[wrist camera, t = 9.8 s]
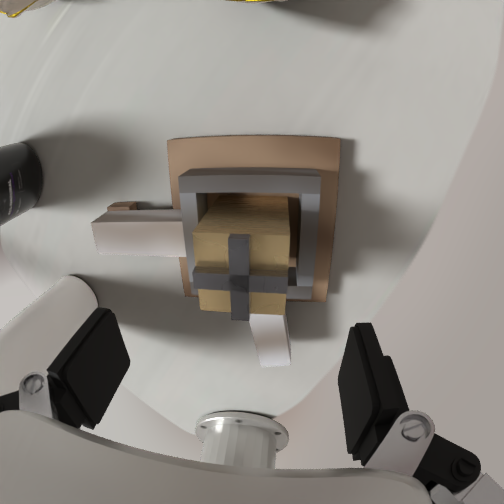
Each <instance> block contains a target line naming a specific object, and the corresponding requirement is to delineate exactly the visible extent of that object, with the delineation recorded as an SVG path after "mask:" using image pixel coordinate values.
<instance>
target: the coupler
mask: <svg viewBox="0 0 504 504" xmlns="http://www.w3.org/2000/svg"><path fill="white" fill-rule="evenodd" d="M192 235H193V246H194V257H195V268H194V270H193V272H192V276H193V284H194V289H198V294H199V302H200V310H206V311H219V312H231V319H232V320H242V321H250V314H268V315H285V305H286V294H287V287H288V263H289V247H290V226H289V212H288V198H287V197H285V196H254V195H219V196H218V198H217V199H216V200H215V202H214V203H213V204H212V206H211V207H210V208H209V210H208V211H207V213H206V214H205V215H204V217H203V218H202V219H201V221H200V222H199V224H198V225H197V226H196V228H195V229H194V231H193V232H192Z"/></svg>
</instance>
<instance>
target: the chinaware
mask: <svg viewBox="0 0 504 504" xmlns="http://www.w3.org/2000/svg"><path fill="white" fill-rule="evenodd" d="M53 1H55V0H0V12H1V13H4V14H7V16H8V17H12V18H16V17H18V16H20V15H21V14H22V13H23V12H24V11H29V10H35V9H38V8H41V7H44V6H46V5H48V4H50V3H52V2H53ZM228 1H237V2H243V3H265V2H271V1H286V0H228Z"/></svg>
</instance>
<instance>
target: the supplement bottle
mask: <svg viewBox="0 0 504 504" xmlns="http://www.w3.org/2000/svg"><path fill="white" fill-rule="evenodd" d="M41 189H42V171H41V166H40V162H39V160H38V157H37V155H36V154H35V152H34V151H33V149H32V148H31V147H29V146H28V145H26V144H24V143H14V144H10V145H6V146H2V147H0V226H1V225H3V224H5V223H6V222H8V221H10V220H12V219H13V218H15V217H17V216H19V215H21V214H23V213H24V212H26V211H28V210H29V209H31V208H32V207H33V206H34V205H35V204H36V202H37V201H38V199H39V196H40V193H41Z"/></svg>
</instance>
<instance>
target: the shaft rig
mask: <svg viewBox="0 0 504 504" xmlns="http://www.w3.org/2000/svg"><path fill="white" fill-rule="evenodd" d="M167 148H168V161H169V174H170V185H171V195H172V205H173V209H167V210H137V205H136V202H118V203H113V204H112V205H110V206H109V207H107V210H108V211H107V212H106V213H104V214H103V215H101V216H100V217H99V218H97V219H96V220H94V221H93V222H91V226H92V230H93V235H94V239H95V244H96V248H97V252H98V254H116V255H143V256H171V257H179V261H180V267H181V274H182V281H183V287H184V293H185V296H188V297H199V294H198V289H194V284H193V276H192V272H193V270H194V268H195V257H194V246H193V235H192V232H193V231H194V229H195V228H196V226H197V225H198V224H199V222H200V221H201V219H202V218H203V217H204V215H205V214H206V213H207V211H208V210H209V208H210V207H211V206H212V204H213V203H214V202H215V200H216V199H217V198H218V196H219V195H254V196H285V197H287V198H288V212H289V226H290V247H289V263H288V287H287V294H286V301H302V302H326V295H327V288H328V281H329V273H330V265H331V257H332V248H333V239H334V229H335V218H336V207H337V194H338V179H339V162H340V139H339V138H334V137H319V136H296V135H227V136H205V137H190V138H177V139H171V140H167ZM249 323H250V327H251V331H252V334H253V338H254V342H255V346H256V350H257V354H258V357H259V361H260V365H261V367H273V366H285V365H291V343H290V337H289V330H288V324H287V318H286V312H285V315H268V314H250V321H249Z"/></svg>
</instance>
